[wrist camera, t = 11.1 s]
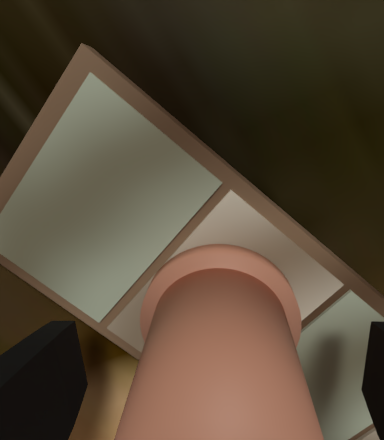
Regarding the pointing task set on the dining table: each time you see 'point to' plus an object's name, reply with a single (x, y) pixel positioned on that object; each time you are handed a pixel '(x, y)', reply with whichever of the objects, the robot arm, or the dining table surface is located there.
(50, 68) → the dining table surface
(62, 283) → the board
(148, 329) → the pawn
